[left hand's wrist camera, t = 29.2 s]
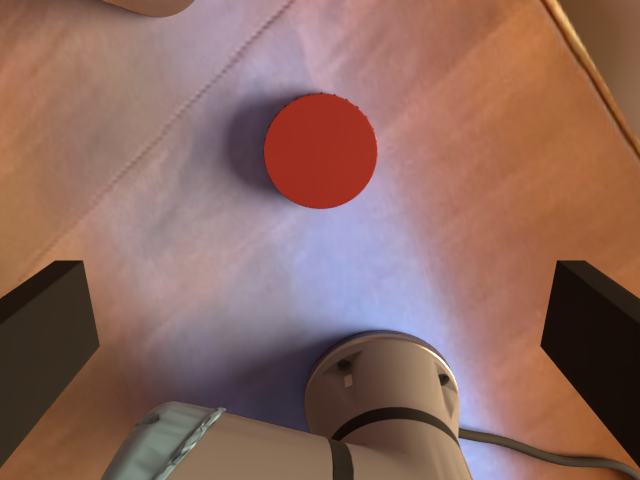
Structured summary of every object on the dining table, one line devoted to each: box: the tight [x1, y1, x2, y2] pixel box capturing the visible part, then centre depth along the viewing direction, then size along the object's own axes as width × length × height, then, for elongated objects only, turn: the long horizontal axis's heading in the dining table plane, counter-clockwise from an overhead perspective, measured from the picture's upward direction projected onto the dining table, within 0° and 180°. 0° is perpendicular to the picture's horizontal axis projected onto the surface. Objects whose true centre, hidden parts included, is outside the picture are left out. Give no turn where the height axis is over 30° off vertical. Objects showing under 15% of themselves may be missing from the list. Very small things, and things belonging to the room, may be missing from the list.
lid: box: [263, 92, 378, 209], centre depth 36 cm, size 9×9×2 cm
